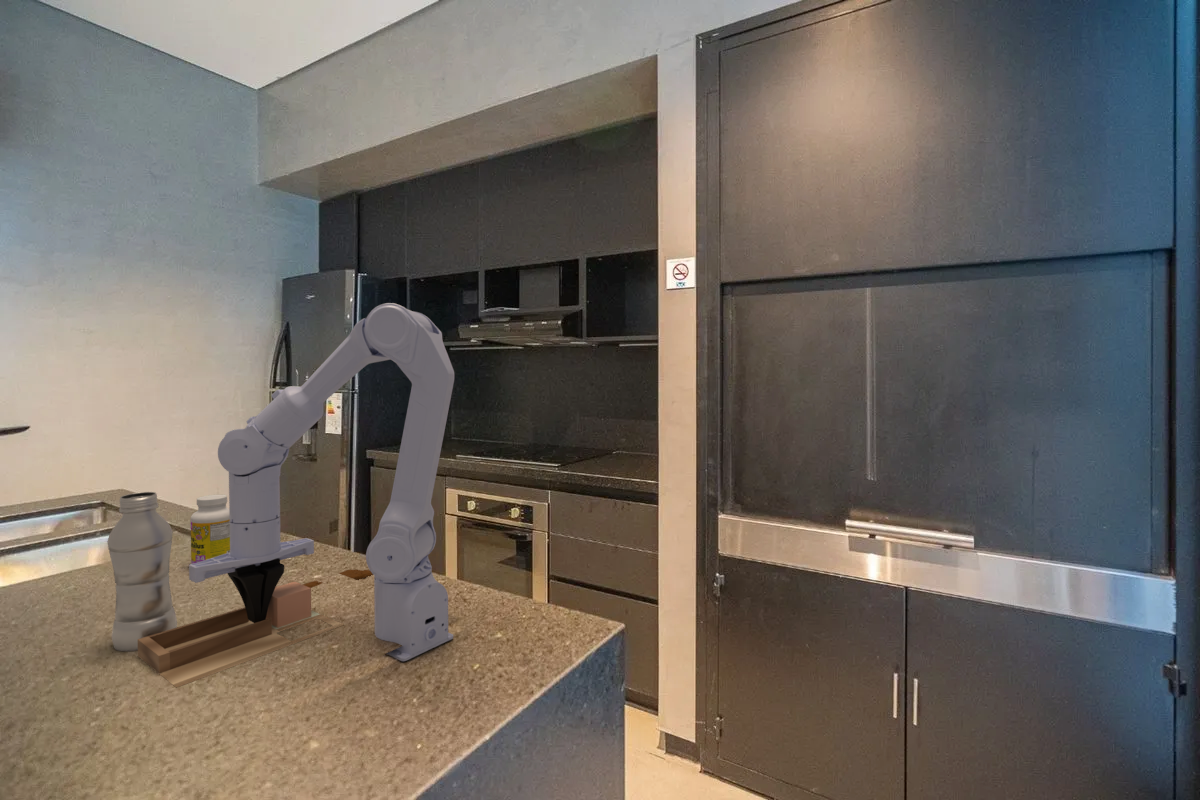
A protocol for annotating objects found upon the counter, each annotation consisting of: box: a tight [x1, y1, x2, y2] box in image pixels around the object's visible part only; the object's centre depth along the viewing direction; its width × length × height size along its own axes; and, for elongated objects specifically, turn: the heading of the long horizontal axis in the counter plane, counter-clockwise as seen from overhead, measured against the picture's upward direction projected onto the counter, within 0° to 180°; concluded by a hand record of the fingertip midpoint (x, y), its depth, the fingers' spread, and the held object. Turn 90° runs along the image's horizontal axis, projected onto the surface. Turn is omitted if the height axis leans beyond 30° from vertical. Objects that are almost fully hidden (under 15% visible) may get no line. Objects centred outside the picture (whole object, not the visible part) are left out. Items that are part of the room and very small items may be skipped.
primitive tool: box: [301, 569, 374, 589], centre depth 92 cm, size 19×6×4 cm, turn 162°
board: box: [137, 606, 344, 689], centre depth 71 cm, size 12×19×4 cm, turn 145°
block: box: [266, 581, 312, 628], centre depth 78 cm, size 4×4×4 cm
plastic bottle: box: [107, 491, 178, 652], centre depth 71 cm, size 6×7×20 cm
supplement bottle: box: [190, 494, 230, 564], centre depth 104 cm, size 7×7×13 cm
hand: (256, 619), depth 74 cm, fingers closed
